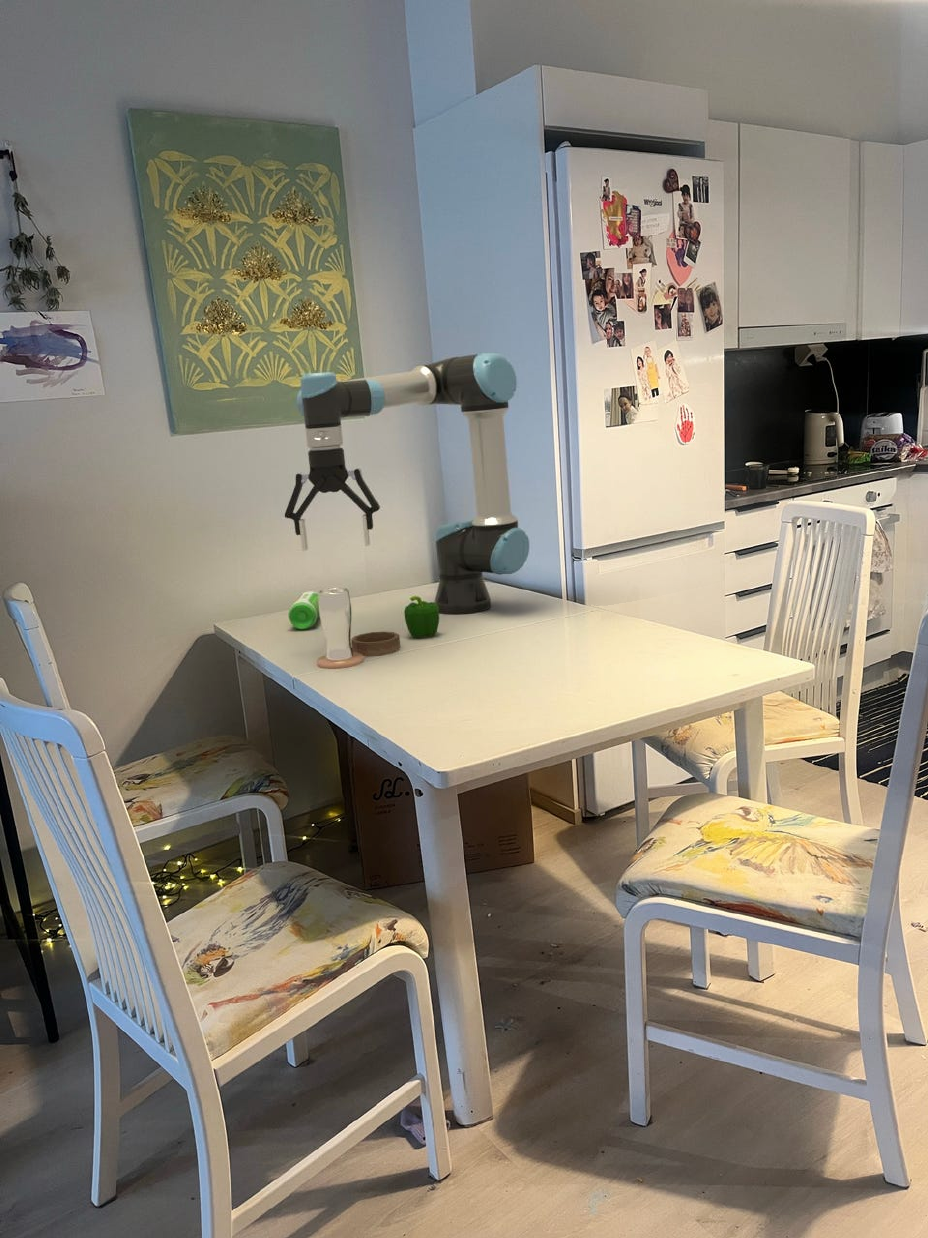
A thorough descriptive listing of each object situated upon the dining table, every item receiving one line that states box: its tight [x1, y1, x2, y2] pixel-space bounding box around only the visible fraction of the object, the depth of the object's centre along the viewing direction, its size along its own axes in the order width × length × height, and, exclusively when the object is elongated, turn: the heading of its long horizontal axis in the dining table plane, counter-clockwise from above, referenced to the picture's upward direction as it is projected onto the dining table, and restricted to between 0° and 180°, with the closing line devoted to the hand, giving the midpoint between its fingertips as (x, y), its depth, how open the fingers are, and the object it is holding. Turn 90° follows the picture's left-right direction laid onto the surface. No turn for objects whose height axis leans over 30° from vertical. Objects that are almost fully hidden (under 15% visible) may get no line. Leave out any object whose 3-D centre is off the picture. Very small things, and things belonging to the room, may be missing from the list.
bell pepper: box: [404, 595, 440, 639], centre depth 227 cm, size 8×8×10 cm
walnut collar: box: [350, 631, 401, 657], centre depth 217 cm, size 11×11×3 cm
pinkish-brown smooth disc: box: [316, 652, 364, 670], centre depth 209 cm, size 10×10×1 cm
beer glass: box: [317, 587, 354, 661], centre depth 207 cm, size 7×7×15 cm
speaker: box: [288, 590, 320, 630], centre depth 250 cm, size 18×7×8 cm, turn 1°
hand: (336, 547), depth 207 cm, fingers open, 13 cm apart
